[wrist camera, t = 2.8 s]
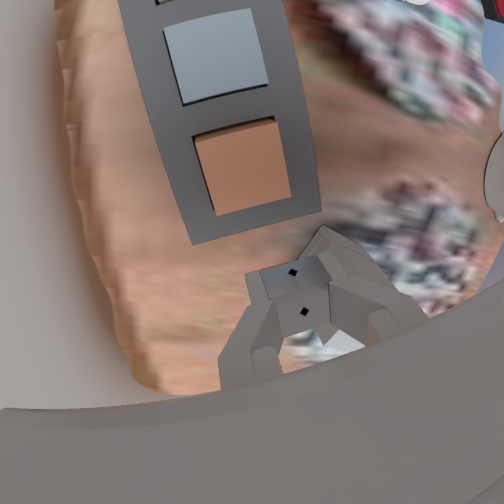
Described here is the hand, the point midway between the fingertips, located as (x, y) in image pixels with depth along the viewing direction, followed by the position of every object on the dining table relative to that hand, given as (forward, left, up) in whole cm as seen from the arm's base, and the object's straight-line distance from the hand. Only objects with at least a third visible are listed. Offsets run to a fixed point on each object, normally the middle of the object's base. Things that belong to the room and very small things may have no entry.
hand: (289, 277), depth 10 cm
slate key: (0, -9, -17) cm, 20 cm away
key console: (0, -9, -21) cm, 23 cm away
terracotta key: (0, 0, -17) cm, 17 cm away
